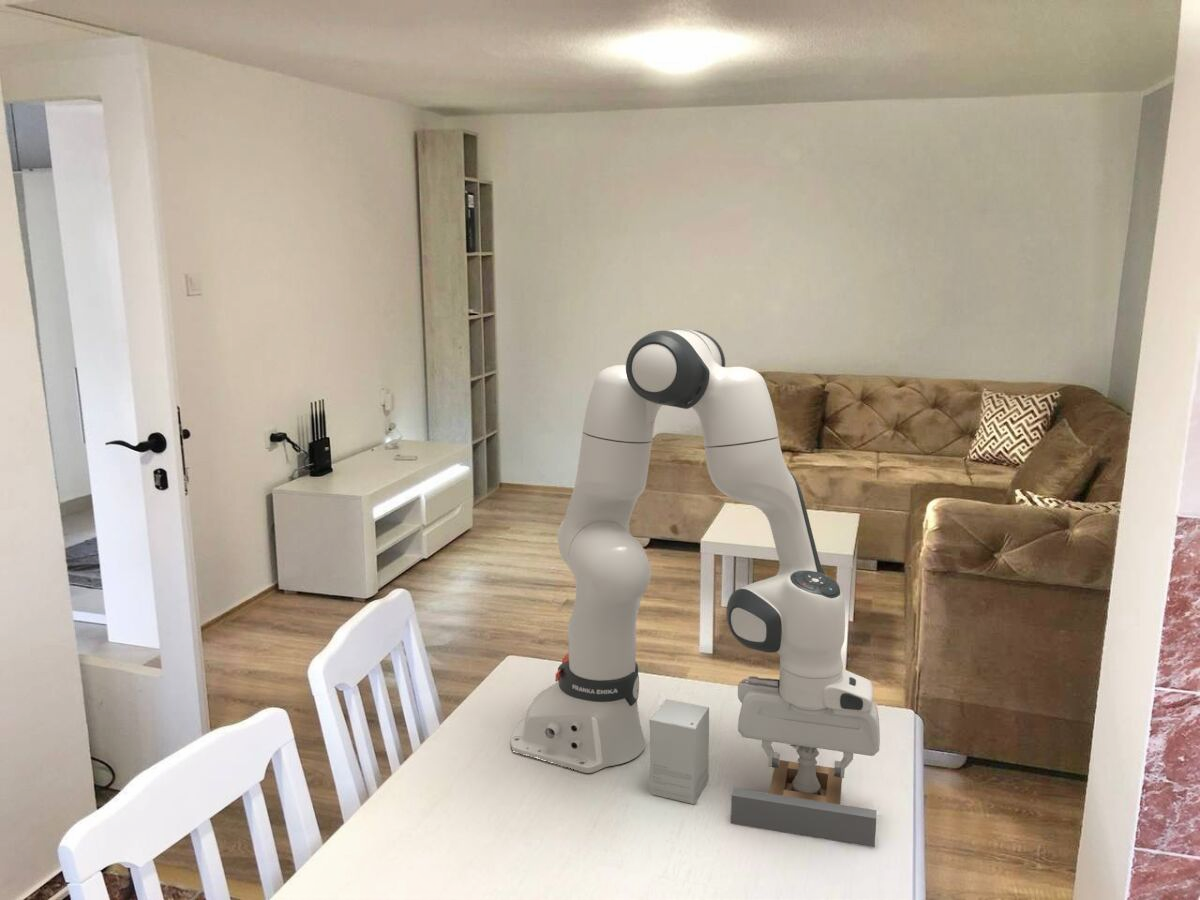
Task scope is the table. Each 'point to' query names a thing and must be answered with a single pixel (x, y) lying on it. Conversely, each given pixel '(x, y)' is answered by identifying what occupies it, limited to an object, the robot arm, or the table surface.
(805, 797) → the socket block
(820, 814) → the backstop board
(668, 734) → the supplement box
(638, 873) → the table surface
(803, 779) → the rook chess piece
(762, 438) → the robot arm
